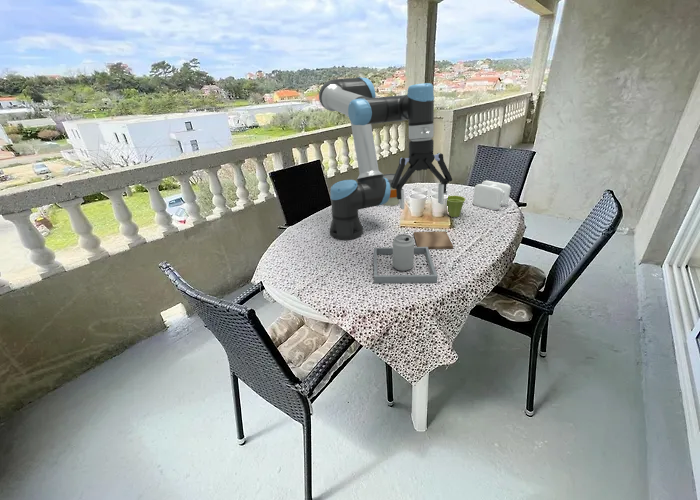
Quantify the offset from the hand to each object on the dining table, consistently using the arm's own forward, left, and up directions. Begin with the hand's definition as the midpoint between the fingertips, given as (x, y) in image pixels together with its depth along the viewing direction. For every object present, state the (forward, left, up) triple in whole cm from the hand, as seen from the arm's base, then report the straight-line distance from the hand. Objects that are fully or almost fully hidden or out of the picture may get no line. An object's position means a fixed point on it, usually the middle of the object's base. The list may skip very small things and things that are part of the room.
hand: (421, 205), depth 105 cm
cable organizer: (+44, +58, -23) cm, 76 cm away
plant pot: (+23, +46, -23) cm, 56 cm away
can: (-6, -2, -23) cm, 24 cm away
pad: (+8, +18, -23) cm, 30 cm away
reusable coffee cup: (-7, +66, -23) cm, 70 cm away
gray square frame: (-6, -2, -23) cm, 24 cm away
